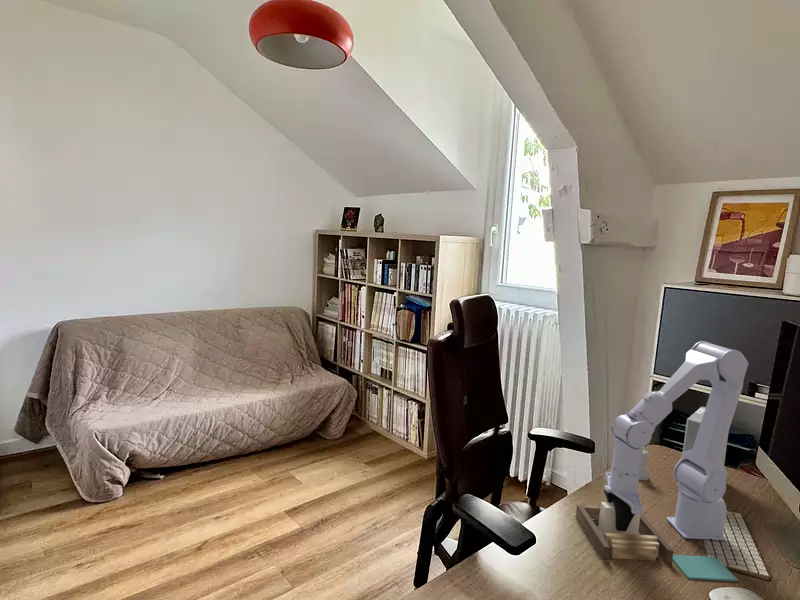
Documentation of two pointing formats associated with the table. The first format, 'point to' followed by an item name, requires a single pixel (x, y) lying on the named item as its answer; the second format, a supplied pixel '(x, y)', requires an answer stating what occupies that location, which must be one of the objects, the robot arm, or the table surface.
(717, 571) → the teal mat
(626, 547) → the offcut stack
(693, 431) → the hard drive box
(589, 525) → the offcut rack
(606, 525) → the off-white rectangular block
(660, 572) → the table surface
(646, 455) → the rook chess piece
